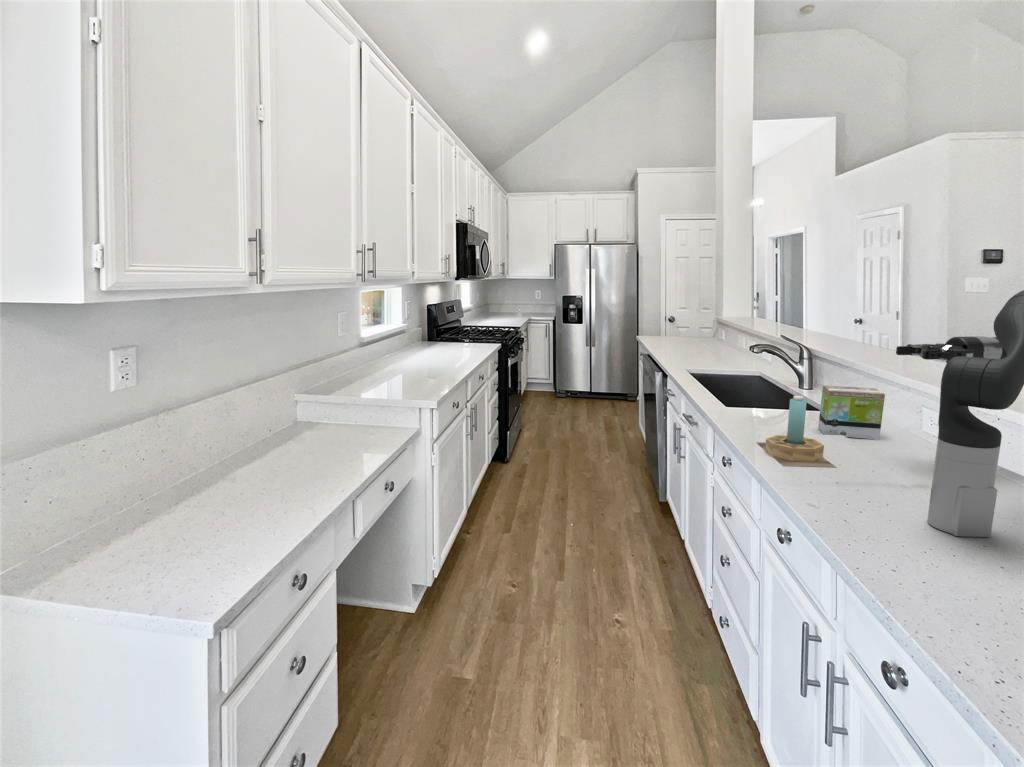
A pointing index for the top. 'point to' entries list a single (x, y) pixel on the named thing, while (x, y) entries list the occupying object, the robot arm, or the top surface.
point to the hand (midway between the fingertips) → (910, 352)
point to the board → (787, 463)
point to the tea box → (851, 411)
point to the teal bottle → (796, 420)
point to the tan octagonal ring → (794, 449)
